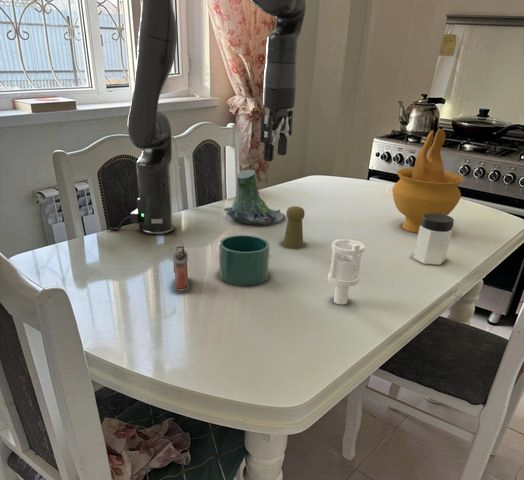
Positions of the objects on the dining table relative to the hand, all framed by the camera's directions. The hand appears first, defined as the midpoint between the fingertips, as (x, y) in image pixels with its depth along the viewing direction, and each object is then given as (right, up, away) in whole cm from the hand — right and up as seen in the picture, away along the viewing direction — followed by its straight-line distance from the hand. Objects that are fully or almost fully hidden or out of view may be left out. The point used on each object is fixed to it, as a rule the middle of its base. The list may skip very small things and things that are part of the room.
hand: (275, 157), depth 126 cm
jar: (+44, -22, +17) cm, 52 cm away
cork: (+6, -17, +22) cm, 29 cm away
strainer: (+15, -37, -8) cm, 41 cm away
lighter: (-23, -33, -5) cm, 40 cm away
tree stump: (-6, -4, +42) cm, 43 cm away
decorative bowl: (+48, -8, +40) cm, 64 cm away
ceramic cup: (-8, -29, +2) cm, 30 cm away
